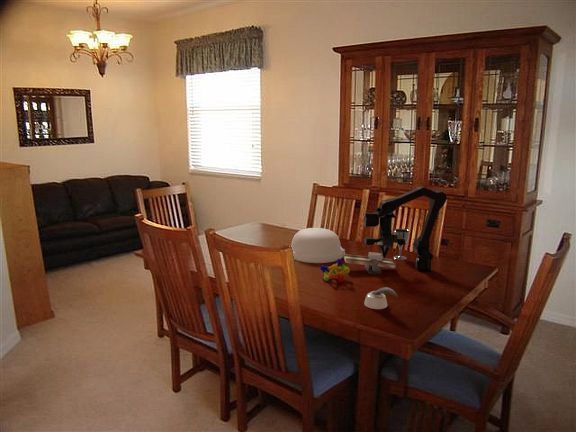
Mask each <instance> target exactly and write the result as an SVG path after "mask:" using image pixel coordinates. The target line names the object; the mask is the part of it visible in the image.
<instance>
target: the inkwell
mask: <svg viewBox="0 0 576 432" xmlns="http://www.w3.org/2000/svg"><path fill="white" fill-rule="evenodd" d="M385 294H391V295H393V296H395V297H397V298H399V295H398V294H397V292H396V291H395V290H394V289H392V288H390V287H387V286H385V287H381V288H379V289H377V290H373V291H370V292H368V293H366V296H365V299H364V303H363V304H364V306H365V307H366V308H369V309H372V310H373V309H374V310H384V309H386V308H387V307H388V301H387V297H386V295H385Z"/></svg>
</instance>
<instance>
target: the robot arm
mask: <svg viewBox="0 0 576 432" xmlns="http://www.w3.org/2000/svg"><path fill="white" fill-rule="evenodd" d="M423 196H425V197H426V198H429V199H428V200H429V201H428V203H429V205H428V206H429V208H428V211H427V214H426V218H425V220H424V223H423V227H422V229H421V233H420V235H419V236H418V237H414V240H413V243H412V244H411V245H412V249H413V251H414V252H415V253H416V259H415V264H414V265H415V269H416V270H417V271H418V272H432V271H433V270H432V261H433V258H434V255H433V254H432V253H431V252H430V248H431V247H430V246H431V241H430V240H431V239H430V238H431V236H432V233H433V230H434V227H435V224H436V222H437V218H438V215H439V212H440V210H441V209H442V208H443V207H444V205H445V203H446V202H447V199H448V196H447V194H446V193H445V192H443V191H441V190H438V189H437V190H432V189H429V188H427V187H425V186H423V185H420V186H418V187H416V188H414V189H412V190H409V191H408V192H406V193H403V194H401V195H399V196H397V197H390V198H386V199H382V200H381V201H380V202H379V203H378V204H379V205H378V207H377V208H376V209H375V211H374V212H364V216H363V222H362V223H363V227H364V228H376V227H377V226H378V238H374V237H373V236H365V237H364V243H365V245H366V246H374V245H375V244H376V245H377V246H378V247H379V249H380V253H381V254H382V256H383V258H384V259H386V257H387V254H388V253H389V252H388V251H389V249H390V248H392V247H394V244H395V243H396V244H397V243H398V244H399V245H403V246H405V245H406V243H405V239H404V238H403V237H398V236H397V235H394V234H393V232H392V225H393V223H392V222H393V219H397V216H396V214H395V213H394V211H396V210H397V209H398V208H399V207H401V206H403V205H405V204H407V203H409V202H412V201H414V200H416V199H419V198H421V197H423ZM398 244H397V245H398Z"/></svg>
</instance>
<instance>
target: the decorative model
mask: <svg viewBox="0 0 576 432" xmlns="http://www.w3.org/2000/svg"><path fill="white" fill-rule="evenodd" d="M340 265H341V266H340ZM319 269H320V270H321V271H322V272H323V275H324V276H323V280H324V281H325V282H327V281H329V280H337V281H338V283H340V284H342V283H343V282H344V277H346V275H347V274H349V273H350V271H351V269H350V267H349V266H346V265H345V264H344V263H343V260H342V258H341V259H337V261H336V263H334V264H332V265H330V266H326V265H321V266H320V268H319ZM329 269H330V270H329Z"/></svg>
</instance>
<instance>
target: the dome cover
mask: <svg viewBox="0 0 576 432" xmlns="http://www.w3.org/2000/svg"><path fill="white" fill-rule="evenodd" d="M290 246H291V247H292V250H293V256H294V259H293V260H294V261H298V262H303V263H309V264H310V263H311V264H323V263H324V264H325V263H333V262H337V259H341V260H342V259H343V258H344V254H346V249H345V248H343V247H342V245H341V241H340V238H339V236H338V235H337V234H336V232H334V231H332V230H330V229H328V228H322V227H308V228H303V229H301V230H298V231H297V232H296V233H295V234H294V236H293V238H292V240H291V245H290Z"/></svg>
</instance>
